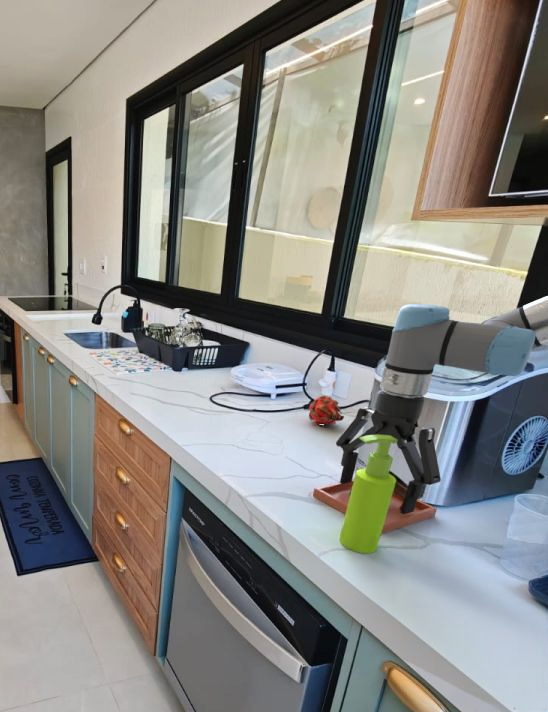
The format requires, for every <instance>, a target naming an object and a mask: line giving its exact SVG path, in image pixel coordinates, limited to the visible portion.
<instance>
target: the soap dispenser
mask: <svg viewBox="0 0 548 712" xmlns="http://www.w3.org/2000/svg"><path fill="white" fill-rule="evenodd" d="M358 437H359V436H358ZM359 439H360V440H362V441H363V442H365V445H366V444H367V445H371V444H376V443H378V444H377V447H376V451H374V452H373V451H372V452H370V453H369V454H368V457H367V458H368V459H367V462H366V465H365V468H359V469H357V470H356V472H355V475H354V478H355V479H354V478H353V479H354V483H353V487H352V491H351V495H350V499H349V503H348V507H347V511H346V514H344V519H343V523H342V527H341V531H340V535H339V542H340V543H341V545H342V546H343V547H345V548H347V549H348V550H351V551H353V552H357V553H361V554H373V553H375V552H376V551H377V549H378V546H379V542H380V539H381V536H382V534H381V532H382V529H383V525H384V522H385V518H386V515H387V511H388V508H389V504H390V501H391V497H392V494H393V490H394V487H395V483H396V479H395V477H394V476H392V475H390V474H389V471H391V467H392V463H393V460H394V459H393V457H392V456H391V455H390V454H389V451H390V448H391V444H397V441H398V440H397V439H395V438H394V437H392V436H390V435H367V436H363V437H359Z"/></svg>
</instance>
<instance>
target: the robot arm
mask: <svg viewBox="0 0 548 712" xmlns="http://www.w3.org/2000/svg"><path fill="white" fill-rule="evenodd" d="M450 313H451V312H450V309H449V308H448V307H446V306H441V305H434V304H422V303H409V304H405V305H403V306H402V307H401V308H400V309H399V311H398V314H397V317H396V320H395V324H394V327H393V329H392V331H391V332H392V333H391V337H390V342H389V346H388V347H389V348H388V351H387V356H386V361H385V364H384V368H383V372H382V376H381V380H380V384H379V387H380V390H379V391H378V392H377V396H376V400H375V404H374V409H375V410H373V409H372V407H370V406H366V407H361V408H359V409H358V410H357V413H356V416H355V418H354V419H353V420H352V422H351V423H350V425H348V427H347V428H346V429H345V431H344V432H343V433H342V434H341V435H340V437H338V439H337V440H336V442H335V445H336V447H339V448H341V449H342V458H341V462H340V464H341V466H342V470H341V475H340V480H339V482H340V483H342V484H345V483H349V482H352V479H354V478H353V477H354V474H355V469H356V466H357V462H358V456H359V452H357V450H358V449H360V448H361V447H362V446H364V445H366V443H365V442H363V441H362V440H360V439H359V437H363V436H367V435H390V436H392V437H394V438H395V439H397V440H398V441H397V443H396V446H397V448H398V449H399V450H401V453H402V455H403V457H404V460H405V462H406V464H407V466H408V469H409V471H410V474H411V476H412V478H413V480H409V482H408V484H407V485H408V488H407V491H406V495H405V498H404V502H403V505H402V509H401V512H400V513H402V514H407V513H410V512H413V511H414V508H415V505H416V501H417V500H421V499H423V498H424V495H425V491H426V488H427V485H428V486H431V485H434V484H439V483H440V482H441V481H442V478H441V473H440V467H439V463H438V457H437V451H436V446H435V435H436V429H435V427H428V428H426V427H423V426H419V420H420V417H421V415H422V411H423V408H424V405H425V401H426V398H425V397H424V396H426V395H428V391H429V387H430V383H431V381H432V380H431V379H432V376H433V373H434V369H435V366H436V365H438V366H442V367H450V368H451V367H452V368H456V369H461V370H468V371H473V372H474V371H475V372H481V373H486V374H490V375H492V376H497V375H500V376H501V375H502V376H508V377H517V376H520V375H521V374H522V373H523V372H524V370H525V368H526V366H527V364H528V361H529V359H530V356H531V353H532V351H533V350H534V349H537V348H539V347H541V346H543V345H544V346H545V345H547V344H548V295H547V296H543V297H542V298H539V299H536V300H534V301H532V302H529V303H526V304H524V305H522V306H520V307H517V308H515V309H512V310H510V311H507V312H505V313H502V314H500V315H496V316H492V317H490V318H488V319H486V320H483V321H482V322H481V323H479V322H468V321H466V322H465V321H459V320H454V319H450V318H451V317H450ZM370 420H371V422H372V425H373V426H371V427H370V428H368V429H366V431H365V432H364V433H362V434H360V435H359V436H358V437H356V436H357V435H358V434H359V432H360V431H361V430H362V429H363V427H364V426H365V425H366V424H367V423H368V421H370ZM415 434H416V437H414V435H415ZM355 437H356V438H355ZM354 438H355V439H354ZM415 438H416V439H417V440H418V448H419V451H418V448H417V441H416V439H415ZM405 441H406V442H405Z"/></svg>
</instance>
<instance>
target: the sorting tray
mask: <svg viewBox="0 0 548 712" xmlns="http://www.w3.org/2000/svg"><path fill="white" fill-rule="evenodd" d="M354 479H355V477H354V478H352V482H349V483H345V484H342V483H340V481H338V482H334V483H330V484H326V485H322V486H318V487H314V489H313V492H312V497H314V498H316V499H317V500H319V501H321V502H323V503H324V504H327V505H328V506H329V507H332V508H334V509H335V510H337V511H339V512H341V513H343V514H344V515H346V511H347V507H348V503H349V499H350V496H349V493H350V491H351V489H352V487H353V483H354ZM402 503H403V498H402V497H401V496H400V495H397V494H395V493H394V492H393V494H392V497H391V501H390V504H389V508H388V511H387V515H386V518H385V522H384V525H383V529H382V532H381V535H382V534H386V533H389V532H392V531H394V530H398V529H400V528H404V527H408V526H410V525H413V524H416V523H419V522H422V521H425V520H429V519H431V518H434V517H435V516H436V513H437V511H438V508H437V507H435V506H433V505H430V504H429V503H426V502H425V501H422V500H421V499H418V500H417V501H416V505H415V508H414V511H413V512H410V513H407V514H402V513H400V512H401V510H400V509H399V508H400V506H401V505H402Z"/></svg>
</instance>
